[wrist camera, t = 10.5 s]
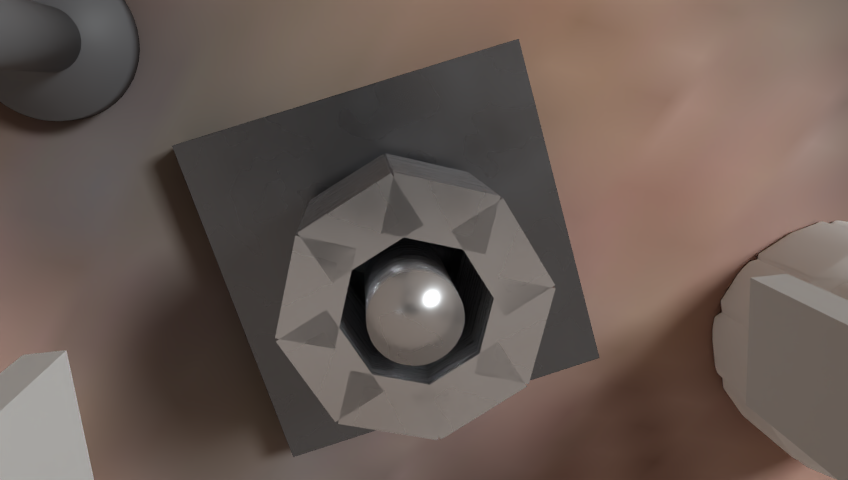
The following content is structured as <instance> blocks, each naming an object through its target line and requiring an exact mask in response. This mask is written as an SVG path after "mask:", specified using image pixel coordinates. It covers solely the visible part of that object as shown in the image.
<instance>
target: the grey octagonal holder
mask: <svg viewBox="0 0 848 480" xmlns="http://www.w3.org/2000/svg"><path fill="white" fill-rule="evenodd" d="M404 237H405V238H410V239H414V240H419V241H424V242H429V243H434V244H438V245H443V246H448V247H453V248H458V249H462V251H463V256H462V260H461V264H460V268H459V272H458V276H457V280H456V284H455V288H456V290H457V292H458V294H459V296H460V298H461V301H462V303H463V307H464V313H465V322H464V328H463V331H462V334H461V336H460V338H459V340H458V342H457V343H456V345H455V346H454V347H453V349H452V350H451V351H450V352H449V353H447V354H446V355H445V356H444V357H442V358H440V359H439V360H437V361H435V362H432V363H429V364H425V365H419V366H409V365H403V364H399V363H396V362H393V361H391V360H390V359H388V358H386V357H385V356H384V355H382V354H381V353H380V352H379V351H378V350H377V349H376V347H375V346H374V345H373V343H372V341H371V339H370V337H369V335H368V331H367V325H366V307H365V306H364V304H363V303H362V301H361V300H360V299H359V297H358V296H357V294H356V293H355V291H354V290H353V288H352V287H351V285H350V284H349V280H350V276H351V271H352V270H353V269H354V268H356V267H358V266H359V265H361V264H362V263H364V262H366V261H367V260H369V259H370V258H372V257H373V256H375V255H377V254H378V253H380V252H381V251H383V250H385V249H386V248H388V247H389V246H391V245H392V244H394V243H396V242H397V241H399V240H400V239H402V238H404ZM554 286H555V284H554V282H553V281H552V279H551V277H550V276H549V274H548V272H547V271H546V269H545V267H544V266H543V264H542V262H541V261H540V259H539V257H538V256H537V254H536V252H535V251H534V249H533V247H532V246H531V244H530V242H529V241H528V239H527V237H526V236H525V234H524V232H523V230H522V229H521V227H520V225H519V224H518V222H517V220H516V219H515V217H514V215H513V214H512V212H511V210H510V209H509V207H508V205H507V204H506V202H505V200H504V199H503V198H502V197H501V196H500V195H498V194H497V193H496V192H494V191H493V190H492V189H490V188H489V187H487V186H486V185H485V184H483V183H482V182H481V181H479V180H478V179H477V178H475V177H474V176H473V175H471V174H470V173H469V172H466V171H462V170H457V169H453V168H448V167H444V166H440V165H435V164H431V163H426V162H422V161H417V160H413V159H408V158H404V157H399V156H395V155H391V154H386V153H385V157H384V155H383V154H382V155H380V156H378V157H377V158H375V159H374V160H372V161H371V162H369V163H368V164H366V165H364V166H363V167H361V168H360V169H358V170H357V171H355V172H353V173H352V174H350V175H349V176H347V177H346V178H344V179H342V180H341V181H339V182H338V183H336V184H335V185H333V186H331V187H330V188H328V189H327V190H325V191H324V192H322V193H320V194H319V195H317V196H316V197H314V198H313V199H311V200H310V202H309V204H308V206H307V209H306V211H305V213H304V216H303V218H302V221H301V223H300V226H299V228H298V230H297V233H296V235H295V240H294V245H293V250H292V255H291V260H290V265H289V270H288V275H287V280H286V285H285V290H284V295H283V300H282V305H281V310H280V315H279V320H278V325H277V330H276V335H275V338H277V339H276V342H277V344H278V345H279V347H280V348H281V349H282V351H283V352H284V353H285V355H286V356H287V357H288V359H289V360H290V361H291V363H292V364H293V366H294V367H295V368H296V370H297V371H298V372H299V374H300V375H301V376H302V378H303V379H304V380H305V382H306V383H307V385H308V386H309V387H310V389H311V390H312V391H313V393H314V394H315V395H316V397H317V398H318V399H319V401H320V402H321V403H322V405H323V406H324V408H325V409H326V410H327V412H328V413H329V414H330V416H331V417H332V418H333V420H334V421H335V422H336V421H338V424H342V425H348V426H354V427H360V428H366V429H373V430H379V431H385V432H391V433H397V434H403V435H409V436H415V437H421V438H427V439H433V440H438V437H440V439H443V438H444V437H446V436H448V435H449V434H451V433H452V432H454V431H456V430H457V429H459V428H461V427H462V426H464V425H465V424H467V423H469V422H470V421H472V420H473V419H475V418H477V417H478V416H480V415H482V414H483V413H485V412H486V411H488V410H490V409H491V408H493V407H494V406H496V405H498V404H499V403H501V402H503V401H504V400H506V399H507V398H509V397H511V396H512V395H514V394H516V393H517V392H519V391H520V390H522V389H524V388H525V387H527V386H526V384H529V381H530V378H531V374H532V371H533V367H534V364H535V360H536V356H537V353H538V349H539V346H540V342H541V339H542V335H543V332H544V328H545V324H546V321H547V317H548V314H549V310H550V307H551V303H552V299H553V296H554V292H555V289H556V288H555V287H554ZM525 383H526V384H525Z"/></svg>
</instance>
